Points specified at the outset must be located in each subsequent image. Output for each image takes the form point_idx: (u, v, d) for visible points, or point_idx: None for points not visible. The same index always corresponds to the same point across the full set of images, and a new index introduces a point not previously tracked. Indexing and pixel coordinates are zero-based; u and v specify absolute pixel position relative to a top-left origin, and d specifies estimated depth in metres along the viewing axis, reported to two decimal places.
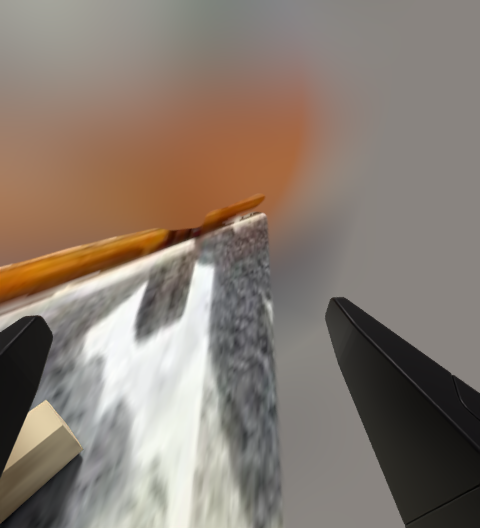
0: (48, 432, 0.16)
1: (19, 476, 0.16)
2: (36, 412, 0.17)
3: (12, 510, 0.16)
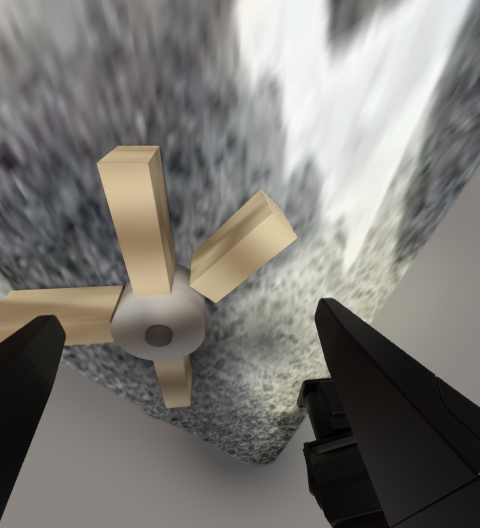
0: (285, 242, 0.17)
1: None
2: (267, 225, 0.16)
3: None
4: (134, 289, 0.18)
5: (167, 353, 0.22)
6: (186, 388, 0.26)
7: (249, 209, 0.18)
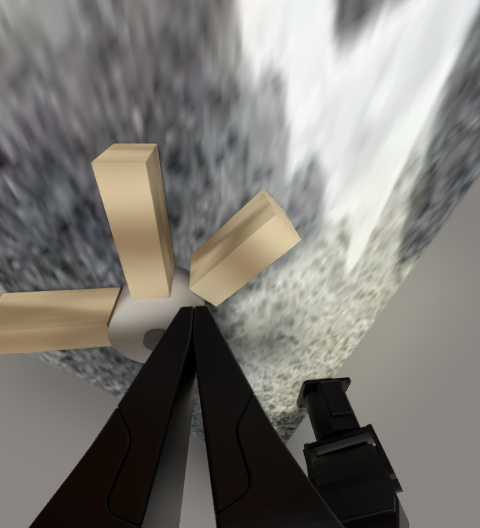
0: (288, 245, 0.16)
1: None
2: (270, 227, 0.15)
3: None
4: (132, 293, 0.17)
5: None
6: None
7: (251, 210, 0.17)
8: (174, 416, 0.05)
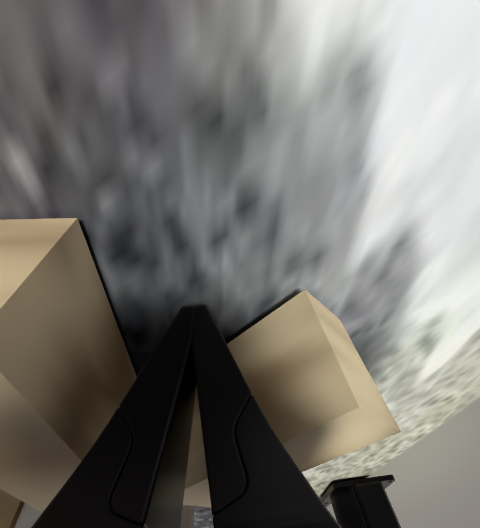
0: (372, 439, 0.07)
1: None
2: (340, 424, 0.06)
3: None
4: (40, 508, 0.09)
5: None
6: None
7: (283, 339, 0.09)
8: (176, 416, 0.05)
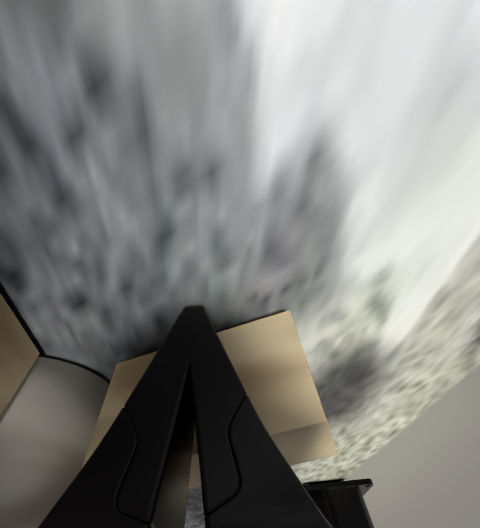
0: (313, 457, 0.08)
1: None
2: (302, 433, 0.07)
3: None
4: None
5: None
6: None
7: (260, 348, 0.09)
8: (180, 415, 0.05)
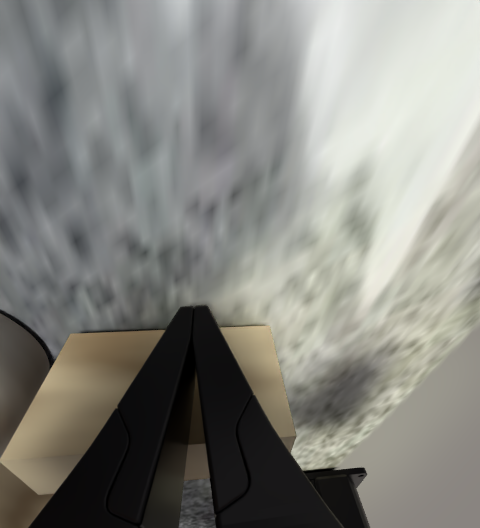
0: None
1: None
2: None
3: None
4: None
5: None
6: None
7: (238, 354, 0.09)
8: (173, 416, 0.05)
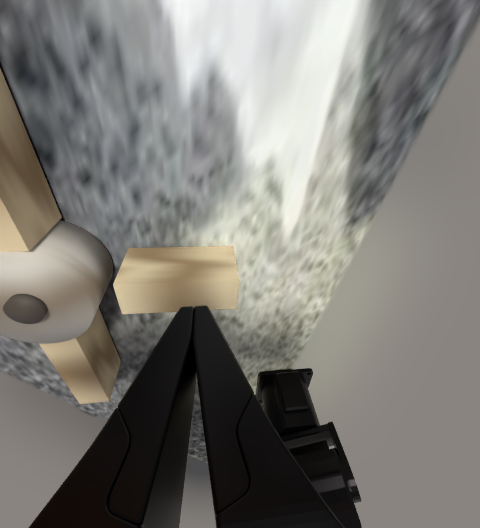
0: (226, 306, 0.18)
1: None
2: (226, 285, 0.17)
3: None
4: None
5: (50, 334, 0.17)
6: (97, 379, 0.21)
7: (215, 256, 0.18)
8: (174, 416, 0.05)
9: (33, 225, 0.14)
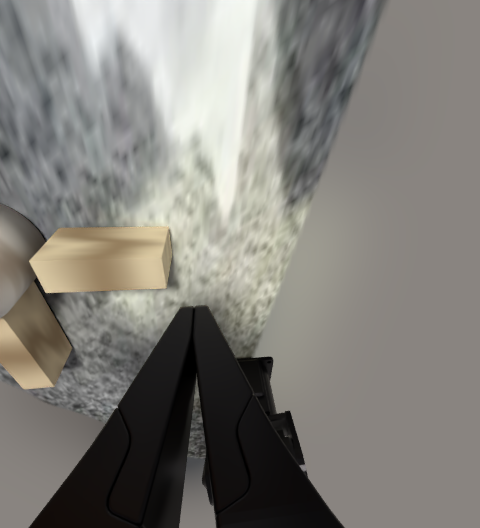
0: (154, 285, 0.17)
1: None
2: (150, 263, 0.16)
3: None
4: None
5: None
6: (36, 363, 0.21)
7: (146, 235, 0.18)
8: (174, 416, 0.05)
9: None
